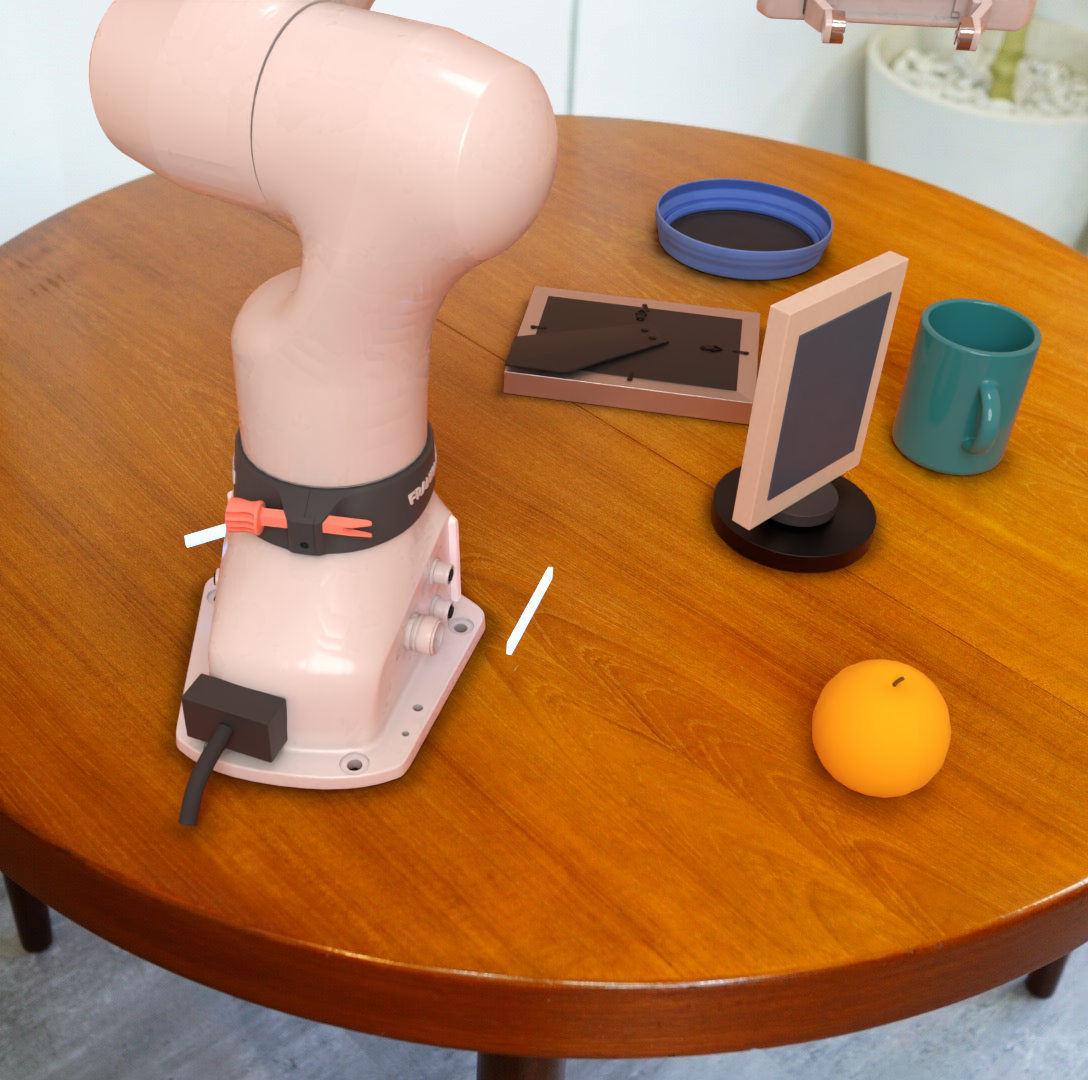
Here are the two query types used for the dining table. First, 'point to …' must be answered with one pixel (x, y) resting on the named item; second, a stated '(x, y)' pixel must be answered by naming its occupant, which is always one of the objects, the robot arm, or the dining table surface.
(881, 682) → the orange
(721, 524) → the swivel base
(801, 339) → the photo frame
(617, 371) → the picture frame
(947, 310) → the cup
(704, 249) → the bowl
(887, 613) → the dining table surface
